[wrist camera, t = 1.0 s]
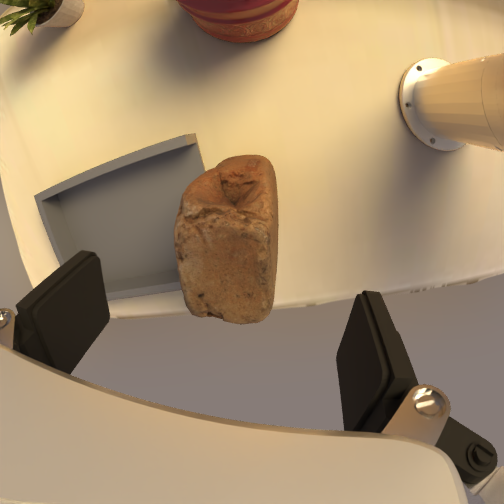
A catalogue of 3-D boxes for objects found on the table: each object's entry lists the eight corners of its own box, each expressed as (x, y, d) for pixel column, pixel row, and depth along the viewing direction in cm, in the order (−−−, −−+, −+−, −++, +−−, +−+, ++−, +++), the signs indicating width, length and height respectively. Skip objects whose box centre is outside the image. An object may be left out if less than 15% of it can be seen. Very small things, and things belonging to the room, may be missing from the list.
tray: (195, 133, 35) (184, 134, 31) (232, 266, 42) (227, 282, 38) (51, 188, 39) (34, 195, 35) (91, 290, 46) (78, 304, 42)
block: (278, 235, 39) (277, 336, 21) (221, 235, 40) (176, 331, 22) (278, 151, 35) (279, 182, 17) (216, 153, 36) (153, 186, 17)
